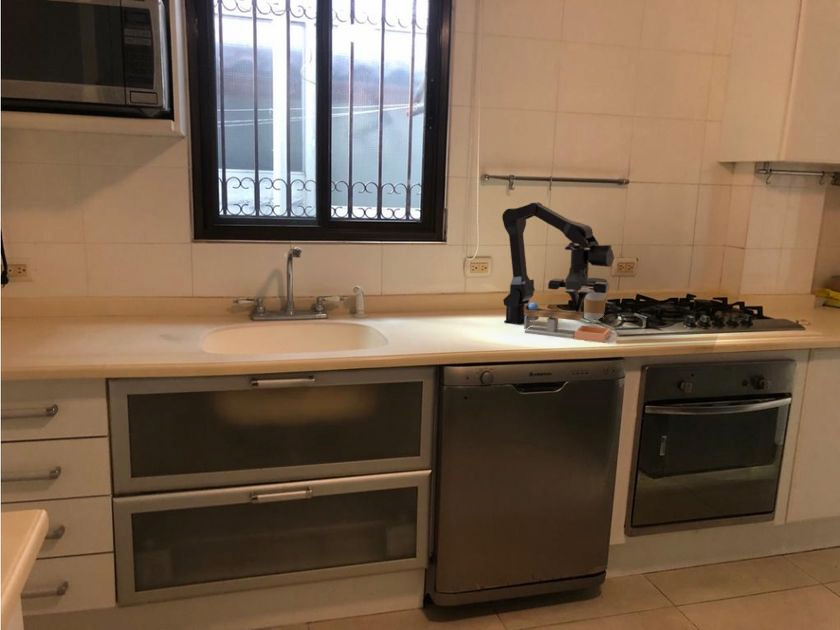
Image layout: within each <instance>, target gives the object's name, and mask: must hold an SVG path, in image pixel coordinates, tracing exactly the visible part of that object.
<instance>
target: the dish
mask: <svg viewBox="0 0 840 630" xmlns="http://www.w3.org/2000/svg"><path fill="white" fill-rule="evenodd" d="M611 329H612V328H611V327H610V328H609V327H602V326H591V325H583V324H582V325H581V326H579V327H578V328H577V329H576V331H575V337H574V340H579V341H589V342H595V343H596V342H597V343H602V344H603V343H606V341H607V340H608V339H609V338H610V337H611Z"/></svg>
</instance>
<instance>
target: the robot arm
mask: <svg viewBox="0 0 840 630" xmlns="http://www.w3.org/2000/svg"><path fill="white" fill-rule="evenodd" d="M533 217H536V218H538V219H540V220H542V222H544V223H546V224H548V225H550V226H552V227H553V228H555V229H557V230H559V231H560V232H561V233H562V234H563V235H564V236H565V238H567V240H568V241H570V242H569V244H568V245H567V246H566V247H564V250H566V251H570V267H569V272H568V275H567V276H566V278H565V279H564V278H553V279H550V280H549V281H548V283H547V284H548V285H547V289H548V290H556V291H557V290H558V289H560V288H565V293H566V294H568V295H569V297H570V299H571V301H572V304H573V307H574V311H577V312H579V311H581V310H580V309H581V307H582V306H583V304H584V298H585V297H586V295H587V294H589V293H590V292H591V289H592V290H594V291H595V293H606V292H607V293H608V292H609V291H610V284H609V282H608V281H607V282H596V283H594V284H588V283H589V278H590V277H589V271H590V267H589V266H597V267H606V268H607V267H608V268H610V267H612V265H613V263H614V258H615V255H614V250H613V249H612V244H605V245H604V244H600V243H599V242H598V241H597V239H596V238H595V237H596V236H594V234H593V233H594V232H593V229H592V227H591V226H590V225H587V224H585V223H581V222H578V221H574V220H571V219H568V218H567V217H565V216H563V215H561V214H560V213H558V212H555V211H554V210H552V209H551V208H548V207H547V206H545V205H543V204H542V203H541V202H539V201H537V202H530V203H528V204H526V205H523V206H520V207H516V208H515V207H512V208H507V209H505V211H504V212H503V213H502V214H501V218H502V219H501V220H502V223H503V227H504V229H505V231H506V233H507V234H508V238H509V248H510V249H509V250H510V259H511V268H512V277H511V278H512V279H511V282H510V284H509V294H508V295H506V297H504V299H502V301H503V305H504V306H506V307H505V308H506V310H505V311H506V312H505V320H504V321H503V322H504V323H506V324H507V323H508V324H516V325H524V318H525V316H527V315H524V305H526V304H528V303H530V300H531V299H532V297H533V296H534V292H535V291H536V289H535V285H534V284H535V281H534V280H535V279H530V278H529V276H528V272H527V271H528V270H527V260H526V248H525V241H524V232H525V229H526V226H527V220H529V219H531V218H533ZM589 264H590V265H589Z"/></svg>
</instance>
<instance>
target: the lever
mask: <svg viewBox="0 0 840 630" xmlns="http://www.w3.org/2000/svg"><path fill="white" fill-rule="evenodd" d="M530 303H531V302H528V304H524V315H527V316H528V320H530V321H534V322H535V321H537V320H538V319H539V318H540V317H541V318H547V319H548V318H558V320H560V319H561V320H569V321H570V320H571V321H580V320H581V319H582V318H583V317H584V311H581V310H579V312H577V311H575V310H564V309H563V310H562V309H554V308H553V309H552V308H543V307H541V308H540V307H538V309H537V311H535V310H529V309H528V305H529V304H530Z"/></svg>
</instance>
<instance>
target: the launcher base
mask: <svg viewBox="0 0 840 630" xmlns="http://www.w3.org/2000/svg"><path fill="white" fill-rule="evenodd" d="M523 325H524V326H523V329H524V334H532V335H540V336H548V337H556V338H557V337H558V338H566V339H575V331H576V330H577V329H576V330H574V329H566V328H558V327H559V319H558V318H548V317H547V319H546V327H545V326H540V325H539V326H538V325H531V320H528V316H525V318H524V323H523ZM530 325H531V326H530Z"/></svg>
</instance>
